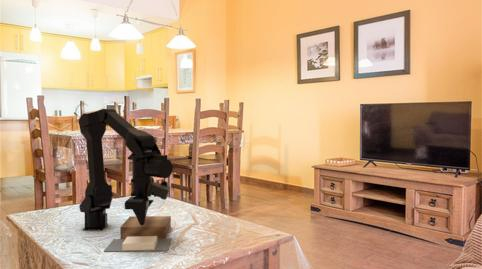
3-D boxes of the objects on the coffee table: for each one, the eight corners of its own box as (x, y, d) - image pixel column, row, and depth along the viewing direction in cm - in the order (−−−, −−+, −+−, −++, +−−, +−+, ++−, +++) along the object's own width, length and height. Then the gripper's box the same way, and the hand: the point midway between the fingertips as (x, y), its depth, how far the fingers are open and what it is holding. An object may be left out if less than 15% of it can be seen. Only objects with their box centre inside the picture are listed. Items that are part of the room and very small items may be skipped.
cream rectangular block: (127, 236, 109) (127, 243, 109) (122, 243, 103) (122, 250, 103) (157, 236, 110) (157, 242, 110) (154, 243, 104) (154, 249, 104)
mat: (103, 252, 103) (103, 250, 103) (113, 239, 113) (113, 238, 113) (167, 251, 104) (167, 250, 104) (172, 239, 114) (171, 238, 114)
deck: (120, 239, 113) (120, 227, 113) (129, 227, 125) (129, 216, 125) (165, 239, 114) (165, 226, 114) (170, 227, 126) (170, 216, 126)
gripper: (163, 180, 102) (163, 234, 103) (172, 170, 121) (172, 216, 122) (123, 180, 102) (124, 234, 103) (138, 170, 120) (138, 216, 121)
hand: (142, 224), depth 112 cm, fingers closed
